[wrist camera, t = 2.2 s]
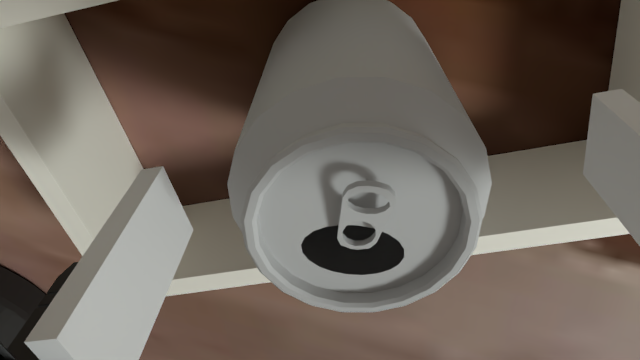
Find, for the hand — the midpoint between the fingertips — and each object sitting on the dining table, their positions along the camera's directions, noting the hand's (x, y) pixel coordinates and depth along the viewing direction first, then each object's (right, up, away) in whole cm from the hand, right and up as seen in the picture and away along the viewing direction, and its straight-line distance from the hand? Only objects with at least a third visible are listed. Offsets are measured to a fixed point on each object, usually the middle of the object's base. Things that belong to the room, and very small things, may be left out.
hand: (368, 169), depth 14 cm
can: (0, +5, +7) cm, 9 cm away
